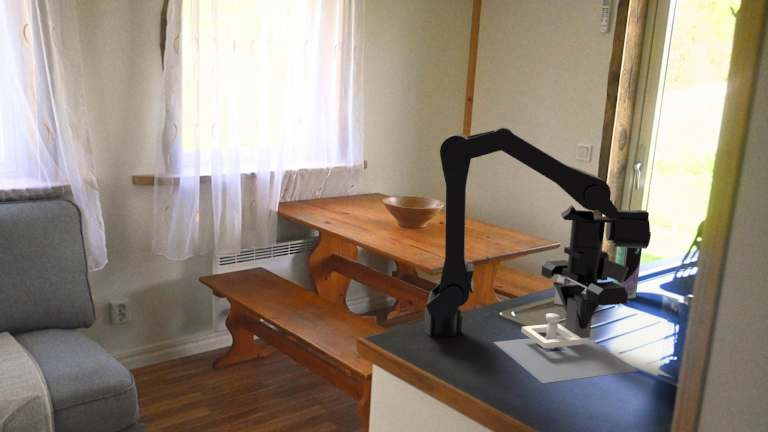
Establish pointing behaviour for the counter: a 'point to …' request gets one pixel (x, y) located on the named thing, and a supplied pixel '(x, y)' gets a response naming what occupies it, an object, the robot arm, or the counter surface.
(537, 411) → the counter surface
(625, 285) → the spray can
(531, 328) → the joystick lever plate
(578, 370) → the hook board
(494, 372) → the counter surface
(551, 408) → the counter surface
